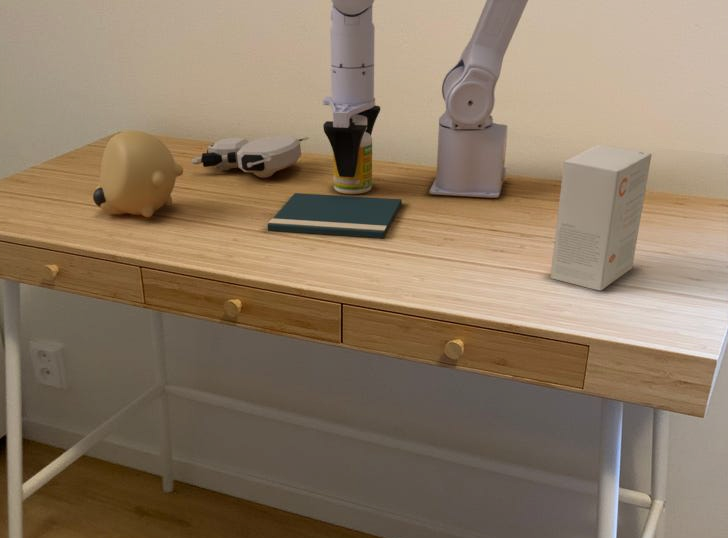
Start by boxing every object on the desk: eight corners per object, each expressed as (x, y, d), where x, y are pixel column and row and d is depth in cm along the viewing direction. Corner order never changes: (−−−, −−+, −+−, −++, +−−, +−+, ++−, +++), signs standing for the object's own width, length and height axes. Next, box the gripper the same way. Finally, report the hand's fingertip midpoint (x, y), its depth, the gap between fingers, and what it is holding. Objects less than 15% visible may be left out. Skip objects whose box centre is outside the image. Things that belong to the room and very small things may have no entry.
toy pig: (159, 226, 130) (105, 170, 129) (205, 167, 123) (148, 107, 122) (120, 248, 123) (63, 188, 121) (166, 187, 115) (105, 122, 114)
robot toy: (189, 181, 138) (277, 185, 132) (184, 150, 136) (273, 153, 129) (230, 160, 147) (314, 162, 141) (226, 130, 145) (312, 132, 138)
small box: (581, 256, 108) (598, 142, 101) (633, 269, 105) (654, 152, 97) (548, 278, 103) (562, 159, 96) (600, 292, 99) (620, 170, 92)
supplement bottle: (368, 195, 128) (369, 123, 123) (330, 194, 129) (329, 122, 124) (374, 183, 133) (375, 113, 127) (337, 182, 134) (336, 112, 128)
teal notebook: (401, 204, 125) (402, 198, 124) (383, 238, 114) (383, 231, 114) (294, 198, 128) (294, 192, 127) (267, 230, 118) (267, 223, 117)
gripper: (335, 52, 128) (337, 152, 136) (309, 74, 117) (312, 182, 124) (385, 54, 127) (384, 154, 134) (363, 76, 115) (363, 185, 123)
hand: (352, 168), depth 129 cm, fingers open, 7 cm apart
